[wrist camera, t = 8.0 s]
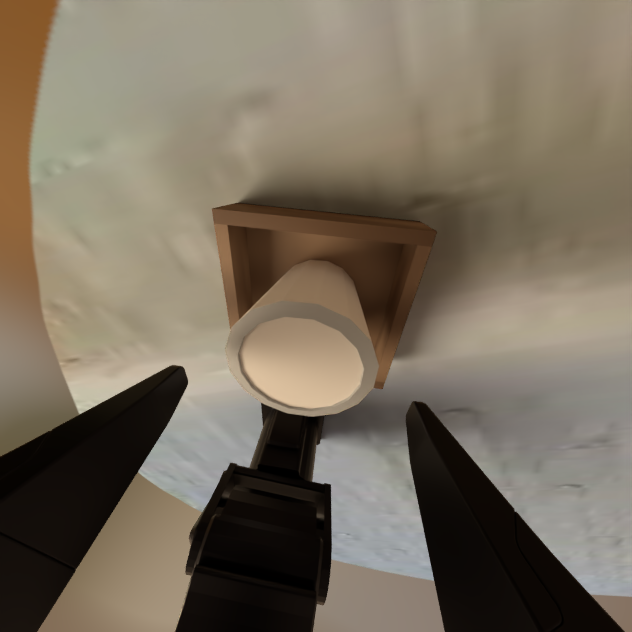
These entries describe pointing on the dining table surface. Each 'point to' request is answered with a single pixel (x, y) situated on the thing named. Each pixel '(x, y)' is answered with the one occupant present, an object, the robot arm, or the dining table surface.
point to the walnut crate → (326, 245)
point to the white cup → (305, 343)
